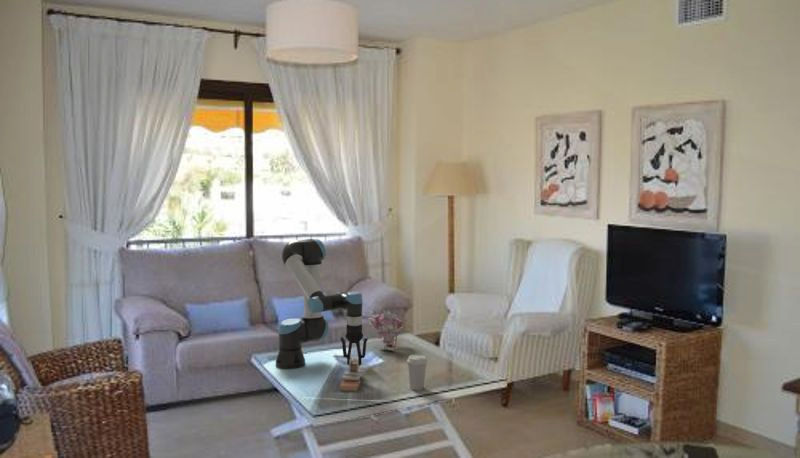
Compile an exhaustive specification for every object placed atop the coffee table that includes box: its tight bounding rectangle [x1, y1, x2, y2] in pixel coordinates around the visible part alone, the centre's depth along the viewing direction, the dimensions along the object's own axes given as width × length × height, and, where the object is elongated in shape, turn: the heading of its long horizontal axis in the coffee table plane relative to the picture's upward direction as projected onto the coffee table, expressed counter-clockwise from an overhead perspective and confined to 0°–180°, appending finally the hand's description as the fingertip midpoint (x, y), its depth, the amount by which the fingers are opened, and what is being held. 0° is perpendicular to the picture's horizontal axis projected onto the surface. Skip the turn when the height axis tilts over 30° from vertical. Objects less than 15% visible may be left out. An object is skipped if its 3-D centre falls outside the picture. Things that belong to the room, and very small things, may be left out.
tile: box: [340, 379, 361, 391], centre depth 314 cm, size 2×8×9 cm
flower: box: [367, 309, 409, 353], centre depth 380 cm, size 20×22×25 cm
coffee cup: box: [406, 354, 428, 391], centre depth 315 cm, size 10×10×15 cm
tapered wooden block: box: [341, 357, 362, 380], centre depth 323 cm, size 18×8×5 cm, turn 175°
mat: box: [333, 381, 368, 393], centre depth 315 cm, size 13×14×1 cm
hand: (354, 371), depth 326 cm, fingers closed on tapered wooden block, 3 cm apart
